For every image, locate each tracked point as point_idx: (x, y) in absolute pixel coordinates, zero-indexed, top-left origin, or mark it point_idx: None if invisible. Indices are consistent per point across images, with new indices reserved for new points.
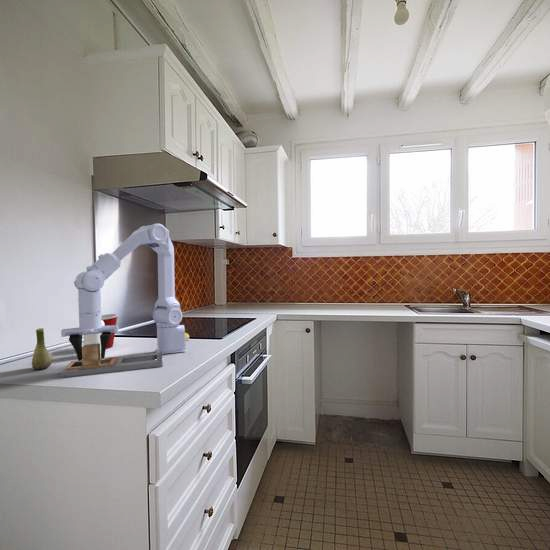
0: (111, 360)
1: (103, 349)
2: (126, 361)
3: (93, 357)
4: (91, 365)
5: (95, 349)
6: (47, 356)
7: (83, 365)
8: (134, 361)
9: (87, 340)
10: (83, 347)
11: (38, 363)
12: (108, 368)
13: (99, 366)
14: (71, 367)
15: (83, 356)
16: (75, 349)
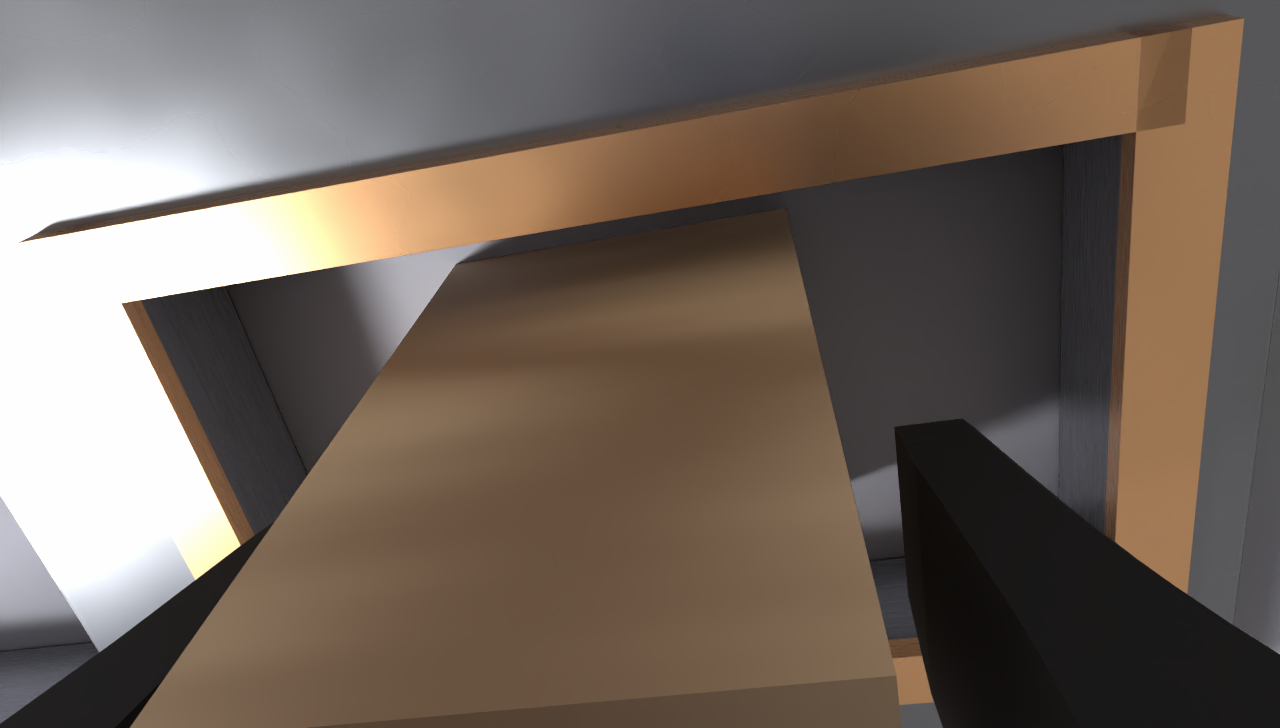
0: (232, 551)
1: (90, 672)
2: None
3: (470, 408)
4: (527, 202)
5: (296, 613)
6: None
7: (774, 268)
8: (3, 656)
9: None
10: (809, 679)
11: None
12: (7, 2)
13: (300, 148)
14: (1077, 116)
15: (785, 402)
16: (1236, 655)
